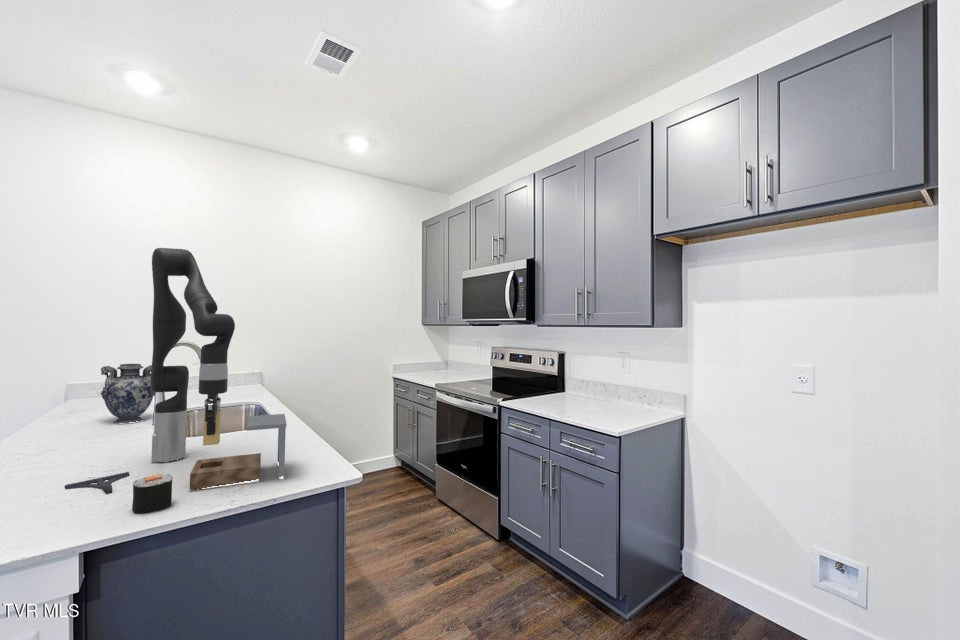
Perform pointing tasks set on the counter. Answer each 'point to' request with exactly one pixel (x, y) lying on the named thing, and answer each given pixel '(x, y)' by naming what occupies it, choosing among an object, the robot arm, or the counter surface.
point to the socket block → (225, 470)
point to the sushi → (152, 493)
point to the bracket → (99, 483)
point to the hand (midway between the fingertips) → (211, 432)
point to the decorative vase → (127, 392)
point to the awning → (271, 423)
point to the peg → (216, 437)
